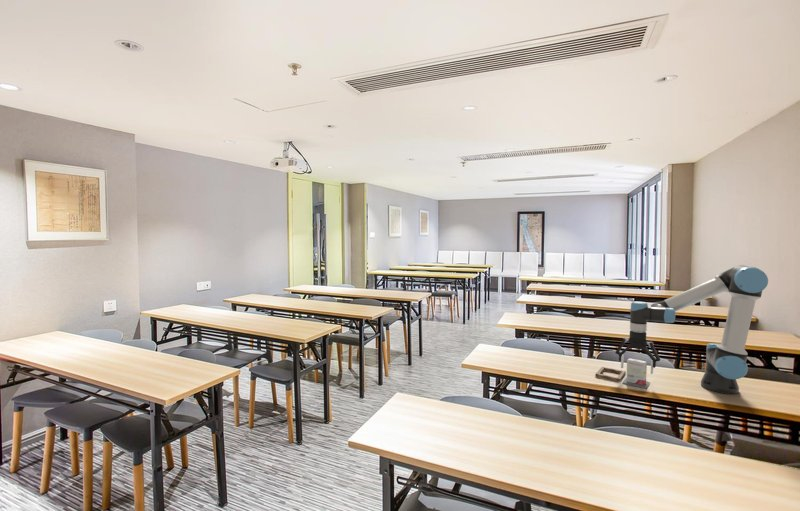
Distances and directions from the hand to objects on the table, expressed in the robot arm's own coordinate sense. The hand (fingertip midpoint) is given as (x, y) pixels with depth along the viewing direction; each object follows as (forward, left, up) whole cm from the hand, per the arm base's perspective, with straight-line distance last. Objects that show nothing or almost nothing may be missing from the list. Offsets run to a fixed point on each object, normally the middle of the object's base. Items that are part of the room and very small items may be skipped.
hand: (636, 370), depth 204 cm
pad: (0, 0, -7) cm, 7 cm away
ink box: (0, 0, -7) cm, 7 cm away
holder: (+13, -4, -7) cm, 15 cm away
